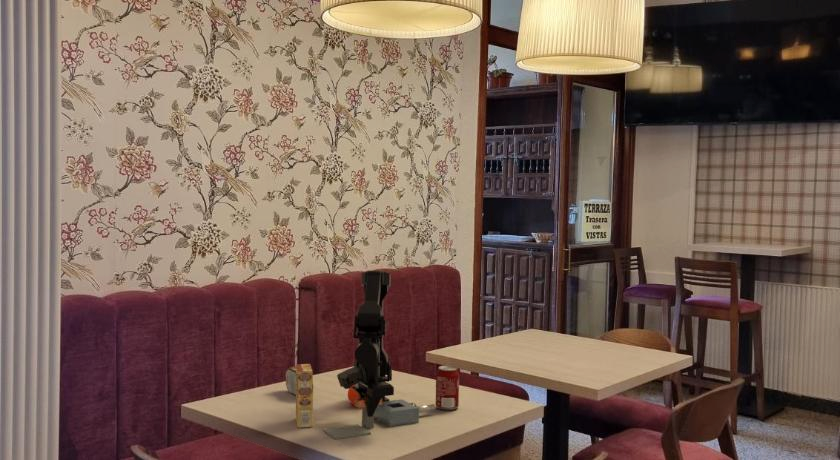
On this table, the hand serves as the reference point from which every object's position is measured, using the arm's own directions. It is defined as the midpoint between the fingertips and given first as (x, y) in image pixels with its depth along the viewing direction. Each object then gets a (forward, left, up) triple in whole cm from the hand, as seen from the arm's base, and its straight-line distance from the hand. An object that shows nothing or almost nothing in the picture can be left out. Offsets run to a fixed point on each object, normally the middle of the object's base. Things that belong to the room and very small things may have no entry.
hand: (368, 415), depth 214 cm
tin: (-39, -5, -4) cm, 39 cm away
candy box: (-11, -14, -4) cm, 18 cm away
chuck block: (-3, +14, -3) cm, 14 cm away
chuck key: (0, 0, -3) cm, 3 cm away
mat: (+2, -7, -3) cm, 8 cm away
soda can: (-7, +29, -3) cm, 30 cm away
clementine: (-21, +7, -4) cm, 22 cm away
